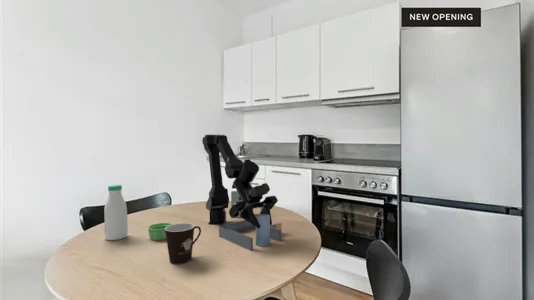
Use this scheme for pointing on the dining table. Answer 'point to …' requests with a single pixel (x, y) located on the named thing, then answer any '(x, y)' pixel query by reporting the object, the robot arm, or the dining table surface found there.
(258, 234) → the slate peg
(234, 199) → the supplement box
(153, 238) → the ramekin
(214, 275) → the dining table surface
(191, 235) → the coffee mug
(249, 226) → the bent channel
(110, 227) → the milk bottle
